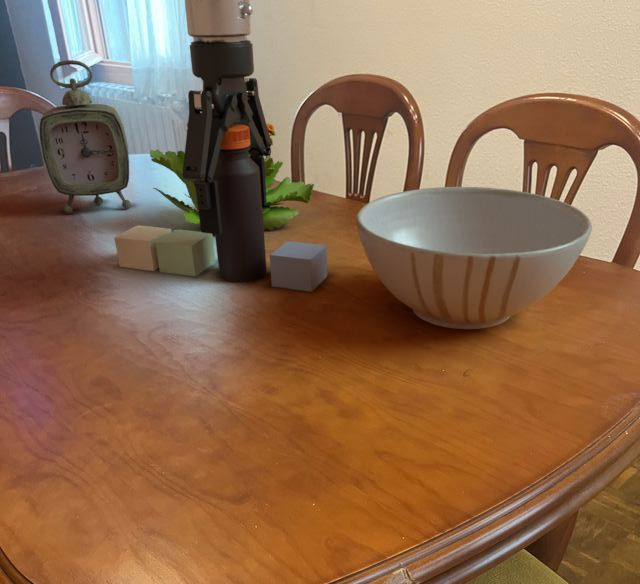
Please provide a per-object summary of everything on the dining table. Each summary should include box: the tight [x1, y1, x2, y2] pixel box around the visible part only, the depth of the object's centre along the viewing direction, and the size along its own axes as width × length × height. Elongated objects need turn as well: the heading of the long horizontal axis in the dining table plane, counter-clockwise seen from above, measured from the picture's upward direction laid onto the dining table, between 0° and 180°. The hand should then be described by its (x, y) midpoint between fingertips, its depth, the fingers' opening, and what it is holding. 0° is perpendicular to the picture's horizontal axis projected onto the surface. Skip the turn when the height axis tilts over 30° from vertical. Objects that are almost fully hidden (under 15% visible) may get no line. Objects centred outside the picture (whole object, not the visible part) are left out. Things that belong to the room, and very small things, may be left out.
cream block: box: [113, 224, 173, 272], centre depth 99 cm, size 6×6×5 cm
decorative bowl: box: [355, 186, 593, 330], centre depth 80 cm, size 27×27×12 cm
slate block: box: [269, 240, 328, 292], centre depth 91 cm, size 6×6×5 cm
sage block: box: [155, 228, 216, 277], centre depth 96 cm, size 6×6×5 cm
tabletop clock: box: [39, 59, 132, 215], centre depth 120 cm, size 14×9×25 cm, turn 104°
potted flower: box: [149, 122, 315, 231], centre depth 110 cm, size 25×24×18 cm
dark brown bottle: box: [213, 124, 268, 284], centre depth 89 cm, size 7×7×20 cm
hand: (235, 218), depth 90 cm, fingers open, 13 cm apart
